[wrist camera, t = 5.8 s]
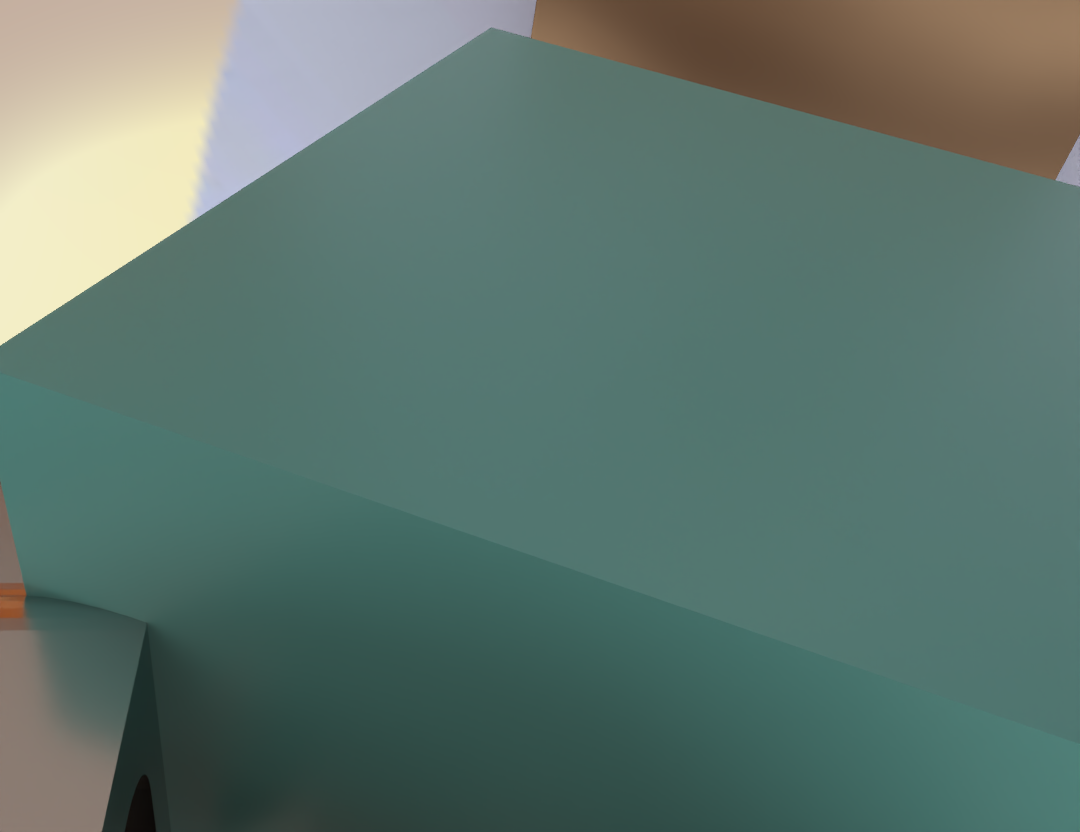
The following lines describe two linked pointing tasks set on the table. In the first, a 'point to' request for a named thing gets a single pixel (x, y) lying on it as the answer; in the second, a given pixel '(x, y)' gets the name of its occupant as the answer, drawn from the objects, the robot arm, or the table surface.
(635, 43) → the board
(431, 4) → the table surface
